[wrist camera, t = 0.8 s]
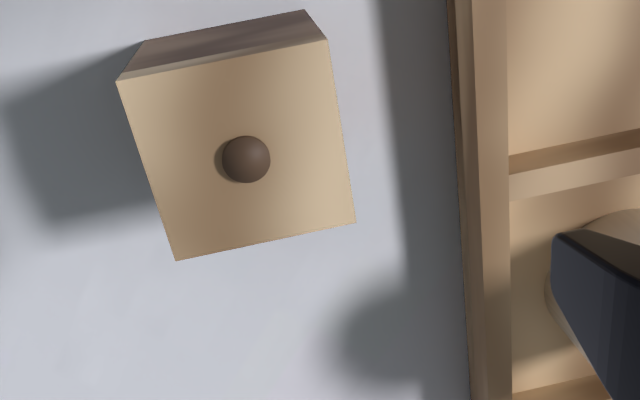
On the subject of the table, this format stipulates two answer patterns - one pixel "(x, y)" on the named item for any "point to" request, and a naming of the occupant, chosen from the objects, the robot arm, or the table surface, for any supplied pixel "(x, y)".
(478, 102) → the caddy
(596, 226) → the sugar jar
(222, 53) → the beige box
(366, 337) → the table surface
